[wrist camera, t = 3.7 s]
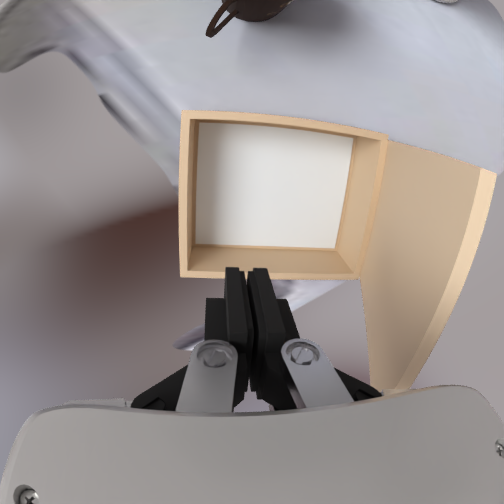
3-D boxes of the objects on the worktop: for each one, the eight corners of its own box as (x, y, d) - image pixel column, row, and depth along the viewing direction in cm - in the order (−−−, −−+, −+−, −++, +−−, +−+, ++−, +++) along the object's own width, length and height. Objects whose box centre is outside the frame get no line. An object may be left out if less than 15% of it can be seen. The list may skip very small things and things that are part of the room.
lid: (481, 167, 8) (499, 174, 7) (387, 139, 23) (396, 142, 23) (371, 423, 14) (385, 424, 13) (359, 275, 29) (367, 276, 29)
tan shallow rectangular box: (189, 111, 26) (181, 110, 21) (360, 129, 29) (388, 134, 23) (186, 249, 33) (180, 277, 27) (338, 254, 35) (358, 279, 30)
